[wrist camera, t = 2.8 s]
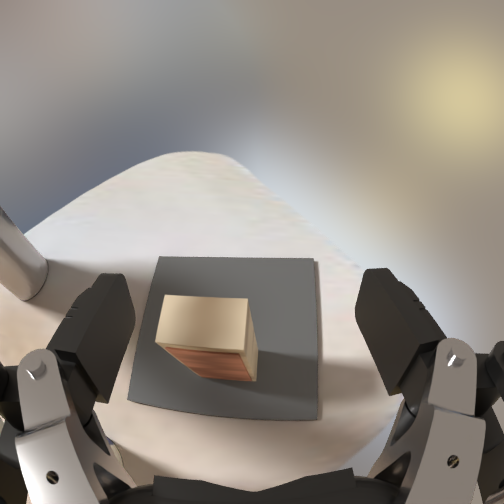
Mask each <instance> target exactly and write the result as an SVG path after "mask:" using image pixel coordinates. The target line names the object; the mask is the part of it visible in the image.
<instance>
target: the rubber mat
mask: <svg viewBox="0 0 504 504" xmlns="http://www.w3.org/2000/svg"><path fill="white" fill-rule="evenodd" d="M165 295H177V296H195V297H216V298H245V299H248V302H249V307H250V312H251V317H252V322H253V327H254V332H255V337H256V342H257V347H258V361H257V377H256V381H238V380H224V379H213V378H203V377H200V376H199V375H197V374H196V373H194V372H193V371H192V370H190V369H189V368H188V367H186V366H185V365H184V364H182V363H181V362H180V361H178V360H177V359H176V358H175V357H173V356H172V355H171V354H169V353H168V352H167V351H166V350H164V349H163V348H162V347H161V346H160V345H158V344H157V343H156V342H155V339H156V334H157V329H158V324H159V319H160V315H161V310H162V305H163V301H164V297H165ZM127 400H130V401H134V402H138V403H142V404H147V405H151V406H156V407H161V408H166V409H172V410H177V411H183V412H190V413H196V414H204V415H212V416H221V417H231V418H243V419H260V420H317V403H318V350H317V314H316V292H315V274H314V259H313V258H231V257H163V256H159V259H158V263H157V266H156V270H155V273H154V277H153V281H152V284H151V288H150V292H149V296H148V300H147V304H146V308H145V312H144V316H143V321H142V325H141V329H140V334H139V339H138V343H137V348H136V353H135V358H134V363H133V369H132V374H131V380H130V386H129V392H128V398H127Z"/></svg>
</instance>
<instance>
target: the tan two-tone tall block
mask: <svg viewBox="0 0 504 504" xmlns="http://www.w3.org/2000/svg"><path fill="white" fill-rule="evenodd" d="M155 342H156V343H157V344H158V345H160V346H161V347H162V348H163V349H164V350H166V351H167V352H168V353H169V354H171V355H172V356H173V357H175V358H176V359H177V360H178V361H180V362H181V363H182V364H184V365H185V366H186V367H188V368H189V369H190V370H192V371H193V372H194V373H196V374H197V375H199V376H200V377H203V378H213V379H224V380H238V381H256V377H257V361H258V347H257V342H256V337H255V332H254V327H253V322H252V317H251V312H250V307H249V302H248V299H245V298H216V297H195V296H177V295H165V297H164V301H163V305H162V310H161V315H160V319H159V324H158V329H157V334H156V339H155Z"/></svg>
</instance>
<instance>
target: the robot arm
mask: <svg viewBox="0 0 504 504" xmlns="http://www.w3.org/2000/svg"><path fill="white" fill-rule="evenodd" d="M47 272H48V264H47V261H46V260H45V259H44V257H43V256H42V255H41V254H40V253H39V252H38V251H37V250H36V249H35V248H34V246H33V245H32V244H31V243H30V242H29V241H28V240H27V238H26V237H25V236H24V235H23V234H22V232H21V231H20V230H19V229H18V228H17V227H16V225H15V224H14V223H13V222H12V220H11V219H10V218H9V217H8V215H7V214H6V213H5V211H4V210H3V209H2V208H1V206H0V283H1V284H2V285H3V286H4V287H6V288H7V289H8V290H9V291H10V292H11V293H13V294H14V295H15V296H16V297H18V298H19V299H20V300H23V301H24V300H29V299H31V298H32V297H34V296H35V295H36V294H37V293H38V291H39V290H40V289H41V287H42V286H43V284H44V282H45V279H46V276H47ZM355 318H356V322H357V324H358V326H359V328H360V331H361V333H362V335H363V337H364V339H365V341H366V344H367V346H368V348H369V350H370V352H371V355H372V357H373V359H374V361H375V364H376V366H377V368H378V371H379V373H380V375H381V378H382V380H383V382H384V385H385V387H386V390H387V392H388V395H389V396H392V395H395V394H399V393H402V394H403V396H404V399H403V400H402V402H401V404H400V407H399V410H398V413H397V416H396V419H395V422H394V425H393V427H392V430H391V433H390V435H389V438H388V440H387V443H386V446H385V448H384V450H383V452H382V454H381V455H380V457H379V458H378V460H377V461H376V462H375V464H374V465H373V467H372V469H371V470H370V472H369V474H368V476H367V477H361V476H354V474H353V470H352V468H348V469H344V470H339V471H334V472H329V473H323V474H318V475H311V476H305V477H303V478H300V479H297V480H294V481H291V482H288V483H285V484H282V485H279V486H276V487H273V488H269V489H266V490H262V491H258V492H249V491H244V490H239V489H234V488H230V487H225V486H221V485H217V484H213V483H209V482H206V481H202V480H188V479H178V478H169V477H162V476H155V475H154V483H153V484H148V485H142V486H138V487H137V486H136V484H135V482H134V481H133V479H132V478H131V476H130V475H129V474H128V472H127V471H126V470H125V469H124V467H123V466H122V465H121V464H120V462H119V461H118V459H117V458H116V456H115V454H114V452H113V450H112V448H111V446H110V444H109V442H108V440H107V438H106V436H105V433H104V431H103V429H102V427H101V425H100V422H99V420H98V418H97V415H96V413H95V411H94V410H93V407H94V404H95V401H96V402H101V403H106V404H108V403H109V399H110V396H111V393H112V390H113V387H114V383H115V380H116V377H117V374H118V371H119V368H120V365H121V362H122V360H123V357H124V354H125V351H126V348H127V346H128V343H129V340H130V337H131V335H132V332H133V329H134V326H135V310H134V307H133V303H132V300H131V297H130V293H129V290H128V286H127V283H126V279H125V277H124V275H123V274H107V273H102V274H100V275H99V277H98V278H97V280H96V281H95V283H94V284H93V286H92V287H91V288H88V289H87V290H85V291H84V292H83V293H82V294H81V295H79V296H78V297H77V299H76V300H75V302H74V303H73V305H72V306H71V309H69V311H68V313H67V314H66V318H64V319H63V321H62V322H61V324H60V325H59V327H58V329H57V330H56V332H55V334H54V335H53V337H52V339H51V341H50V342H49V344H48V346H47V348H46V349H37V350H34V351H32V352H30V353H28V354H27V355H26V356H25V357H24V358H23V359H22V360H21V362H20V364H19V365H18V366H6V367H4V366H3V365H2V363H1V362H0V415H1V416H2V417H3V418H4V419H5V422H4V425H3V428H2V431H1V434H0V504H26V501H27V494H28V493H29V495H30V498H31V501H32V504H471V501H472V497H473V494H474V490H475V486H476V482H478V485H479V489H480V493H481V497H482V501H483V504H504V434H503V431H502V429H501V427H500V424H499V422H498V420H497V417H496V415H495V413H494V411H493V409H492V405H493V404H494V403H495V402H496V401H497V400H498V398H499V397H502V399H503V401H504V341H500V342H498V343H497V344H496V345H495V346H494V348H493V350H492V351H491V352H490V354H477V353H476V354H475V353H474V351H473V350H472V348H471V347H470V346H469V345H468V344H466V343H465V342H463V341H461V340H459V339H455V338H447V337H446V336H445V334H444V333H443V331H442V330H441V329H440V327H439V326H438V324H437V323H436V321H435V320H434V319H433V317H432V316H431V315H430V313H429V312H428V310H425V306H424V305H423V304H422V302H419V298H418V297H417V296H416V295H415V293H414V292H413V291H412V289H410V288H409V287H407V286H406V285H405V284H403V283H402V282H399V281H398V280H397V279H396V278H395V276H394V275H393V274H392V272H391V271H390V270H389V269H388V268H377V269H367V270H365V272H364V274H363V278H362V282H361V286H360V290H359V294H358V298H357V302H356V306H355Z"/></svg>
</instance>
